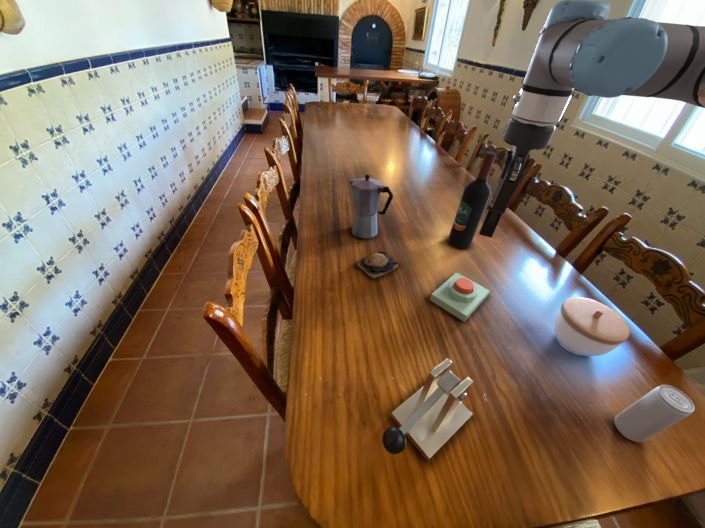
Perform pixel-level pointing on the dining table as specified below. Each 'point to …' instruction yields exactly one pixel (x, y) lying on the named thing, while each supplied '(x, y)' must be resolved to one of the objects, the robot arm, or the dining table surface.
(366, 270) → the bread roll
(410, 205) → the dining table surface
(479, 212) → the wine bottle
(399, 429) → the lever
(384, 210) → the moka pot
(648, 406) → the beverage can
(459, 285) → the button
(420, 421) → the lever bracket
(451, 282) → the button box
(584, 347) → the lidded bowl
